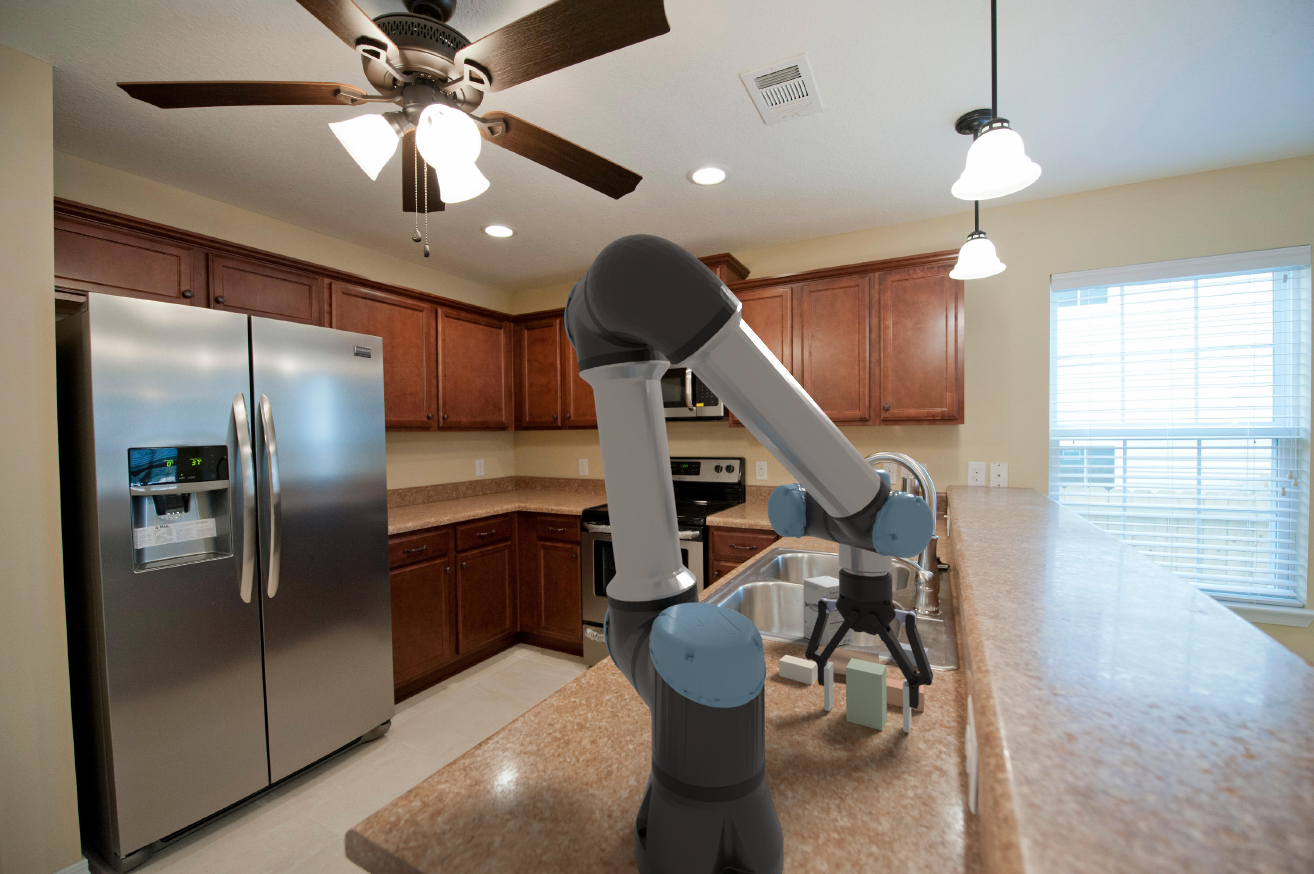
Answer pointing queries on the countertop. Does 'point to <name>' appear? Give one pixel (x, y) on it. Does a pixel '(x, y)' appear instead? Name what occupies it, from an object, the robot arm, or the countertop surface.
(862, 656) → the walnut board
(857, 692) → the sage brick
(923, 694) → the terracotta brick
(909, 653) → the slate brick
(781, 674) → the cream brick
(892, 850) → the countertop surface
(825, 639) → the supplement box
